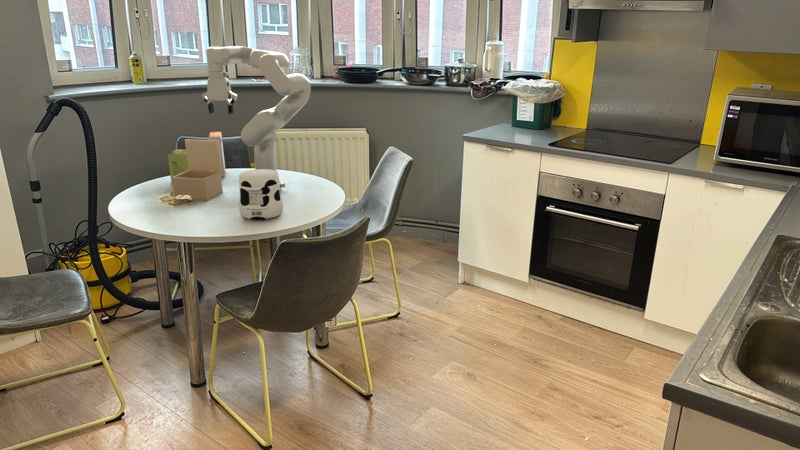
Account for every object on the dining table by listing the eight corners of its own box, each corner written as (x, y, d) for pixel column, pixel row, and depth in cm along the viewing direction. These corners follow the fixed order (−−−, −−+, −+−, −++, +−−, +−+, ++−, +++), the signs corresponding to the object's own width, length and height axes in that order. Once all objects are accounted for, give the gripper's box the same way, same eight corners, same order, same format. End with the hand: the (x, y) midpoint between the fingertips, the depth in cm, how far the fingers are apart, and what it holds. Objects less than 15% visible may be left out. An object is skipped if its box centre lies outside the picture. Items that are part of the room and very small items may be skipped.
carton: (222, 192, 279) (220, 171, 276) (207, 201, 266) (204, 179, 263) (191, 190, 283) (188, 169, 279) (174, 199, 270) (171, 177, 266)
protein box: (203, 185, 291) (199, 153, 286) (171, 185, 292) (167, 153, 286) (210, 180, 301) (206, 149, 296) (179, 180, 301) (175, 149, 296)
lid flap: (221, 171, 276) (227, 168, 282) (217, 140, 271) (224, 138, 277) (188, 169, 280) (195, 166, 285) (184, 139, 275) (191, 136, 280)
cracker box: (213, 171, 317) (209, 131, 310) (225, 170, 318) (221, 131, 311) (212, 178, 304) (208, 136, 297) (225, 177, 305) (221, 136, 298)
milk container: (271, 207, 257) (268, 166, 251) (291, 217, 244) (288, 174, 238) (233, 216, 247) (228, 173, 241) (251, 227, 234) (247, 181, 228)
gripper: (238, 74, 277) (242, 112, 282) (204, 74, 280) (208, 111, 286) (230, 76, 270) (234, 115, 276) (195, 75, 274) (200, 113, 279)
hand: (221, 113), depth 281 cm, fingers open, 9 cm apart
